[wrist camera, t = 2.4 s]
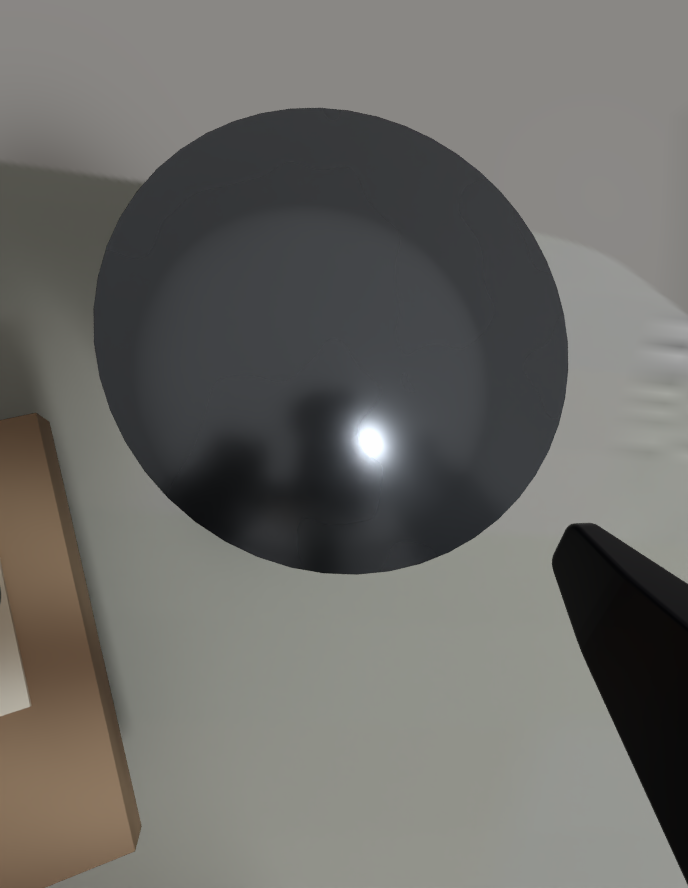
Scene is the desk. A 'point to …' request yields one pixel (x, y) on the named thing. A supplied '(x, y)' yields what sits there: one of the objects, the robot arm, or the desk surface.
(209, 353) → the canister
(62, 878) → the frame
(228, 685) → the desk surface
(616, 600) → the robot arm
